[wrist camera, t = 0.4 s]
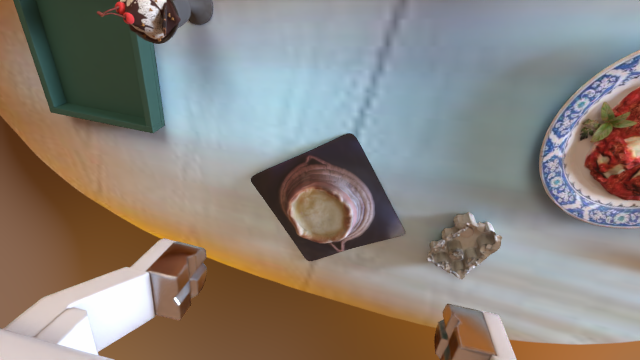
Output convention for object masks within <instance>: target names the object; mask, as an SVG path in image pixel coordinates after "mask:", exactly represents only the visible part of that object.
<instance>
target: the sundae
mask: <svg viewBox="0 0 640 360" xmlns="http://www.w3.org/2000/svg"><path fill="white" fill-rule="evenodd" d="M115 9H116V12H117V13H119V14H120V15H119V14H116V13H107V12H109V11H112V10H115ZM212 11H213V5H212V0H120V2H117V3H116V4H115V7H114V8H112V9H109V10H107V11H105V12H103V13H101V12H100V11H97V14H98V15H100V16H101V17H103V16H105V15H108V14H114V15H118V16H120V17H123V20H124V21H125V23H127V24H128V25H129V27H130V30H131V31H133V32H134V33H135V34H137V35H138V36H139V37H141V38H142V39H144V40H146V41H149V42H152V43H156V44H161V43H165V42H166V41H168V40H169V39H170V38H171V37H173V35H174V34H175V32H176V30H177V29H178V28H179V27H181V26H182V25H183V24H184V23H186V22H187V21H188V20H189V21H190V22H192V23H194V24H204V23H206V22H207V21H208V20H209V19H210V17H211V15H212ZM105 13H107V14H105ZM122 15H123V16H122Z"/></svg>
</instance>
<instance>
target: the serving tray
mask: <svg viewBox="0 0 640 360" xmlns="http://www.w3.org/2000/svg"><path fill="white" fill-rule="evenodd" d="M13 1H14V4H15V7H16V10H17V13H18V16H19V19H20V22H21V25H22V28H23V30H24V33H25V36H26V39H27V42H28V45H29V48H30V51H31V54H32V57H33V60H34V63H35V66H36V69H37V72H38V75H39V78H40V81H41V84H42V87H43V90H44V93H45V96H46V99H47V102H48V105H49V108H50V111H51V112H52V113H57V114H61V115H66V116H71V117H76V118H81V119H86V120H91V121H96V122H101V123H106V124H110V125H115V126H120V127H125V128H130V129H135V130H140V131H145V132H150V133H154V132H156V131H157V130H159V129H160V128H162V127H163V126H165V123H164V116H163V109H162V102H161V94H160V87H159V80H158V73H157V66H156V59H155V52H154V45H153V43H152V42H149V41H146V40H144V39H142V38H141V37H139V36H138V35H137V34H135V33H134V32H133V31H131V30H130V27H129V25H128V24H127V23H125V21H124V20H123V17H120V16H118V15H114V14H108V15H105V16H103V17H101V16H100V15H98V14H97V11H100V12H101V13H103V12H105V11H107V10H109V9H112V8H114V7H115V4H116V3H117V2H120V0H13ZM107 13H116V14H119V13H117V12H116V9H115V10H112V11H109V12H107ZM107 13H105V14H107ZM119 15H120V14H119ZM122 16H123V15H122Z"/></svg>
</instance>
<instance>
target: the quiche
mask: <svg viewBox="0 0 640 360" xmlns="http://www.w3.org/2000/svg"><path fill="white" fill-rule="evenodd" d="M251 182H252V184H253V185H254V186H255V188H256V189H257V190H258V192H259V193H260V194H261V196H262V197H263V199H264V200H265V201H266V203H267V204H268V206H269V207H270V208H271V210H272V211H273V213H274V214H275V215H276V217H277V218H278V220H279V221H280V223H281V224H282V225H283V227H284V228H285V230H286V231H287V233H288V234H289V235H290V237H291V238H292V240H293V241H294V243H295V244H296V246H297V247H298V249H299V250H300V251H301V253H302V254H303V256H304V257H305V258H306V259H307V260H308V261H313V260H317V259H320V258H323V257H326V256H330V255H333V254H336V253H339V252H341V251H344V250H348V249H351V248H355V247H359V246H363V245H367V244H370V243H374V242H378V241H382V240H386V239H390V238H394V237H398V236H401V235H404V234H405V230H404V228H403V226H402V224H401V222H400V221H399V219H398V217H397V215H396V213H395V211H394V209H393V207H392V205H391V203H390V201H389V200H388V198H387V196H386V194H385V192H384V190H383V188H382V186H381V184H380V182H379V180H378V178H377V176H376V174H375V172H374V170H373V168H372V166H371V164H370V162H369V161H368V159H367V157H366V155H365V153H364V151H363V149H362V147H361V145H360V143H359V142H358V140H357V138H356V137H355V136H354V135H353V134H350V133H348V134H345V135H343V136H341V137H339V138H336V139H334V140H332V141H330V142H328V143H326V144H323V145H321V146H319V147H317V148H315V149H313V150H310V151H308V152H306V153H304V154H301V155H299V156H297V157H294V158H292V159H290V160H287V161H285V162H283V163H280V164H278V165H276V166H274V167H271V168H269V169H267V170H264V171H262V172H260V173H258V174H256V175H254V176H253V177H252V178H251Z"/></svg>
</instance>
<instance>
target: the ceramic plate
mask: <svg viewBox="0 0 640 360" xmlns="http://www.w3.org/2000/svg"><path fill="white" fill-rule="evenodd" d="M539 172H540V177H541V181H542V184H543V186H544V188H545V190H546V192H547V194H548V196H549V197H550V198H551V200H552V201H553V202H554V203H555V204H556V205H557V206H558V207H559V208H560V209H562V210H563V211H564V212H566V213H568V214H569V215H571V216H573V217H575V218H577V219H579V220H582V221H584V222H587V223H591V224H594V225H598V226H604V227H612V228H640V50H638V51H636V52H634V53H632V54H630V55H628V56H626V57H624V58H622V59H620V60H618V61H617V62H615V63H613V64H612V65H610V66H608V67H607V68H605V69H604V70H602V71H601V72H599V73H598V74H596V75H595V76H594V77H593V78H591V79H590V80H589V81H587V82H586V83H585V84H584V85H583V86H582V87H581V88H579V89H578V90H577V91H576V92H575V93H574V94H573V95H572V96H571V97H570V98H569V99H568V101H567V102H566V103H565V104H564V105H563V107H562V108H561V109H560V110H559V112H558V113H557V115H556V116H555V118H554V119H553V121H552V122H551V124H550V126H549V128H548V130H547V132H546V134H545V137H544V140H543V143H542V146H541V150H540V158H539Z"/></svg>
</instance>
